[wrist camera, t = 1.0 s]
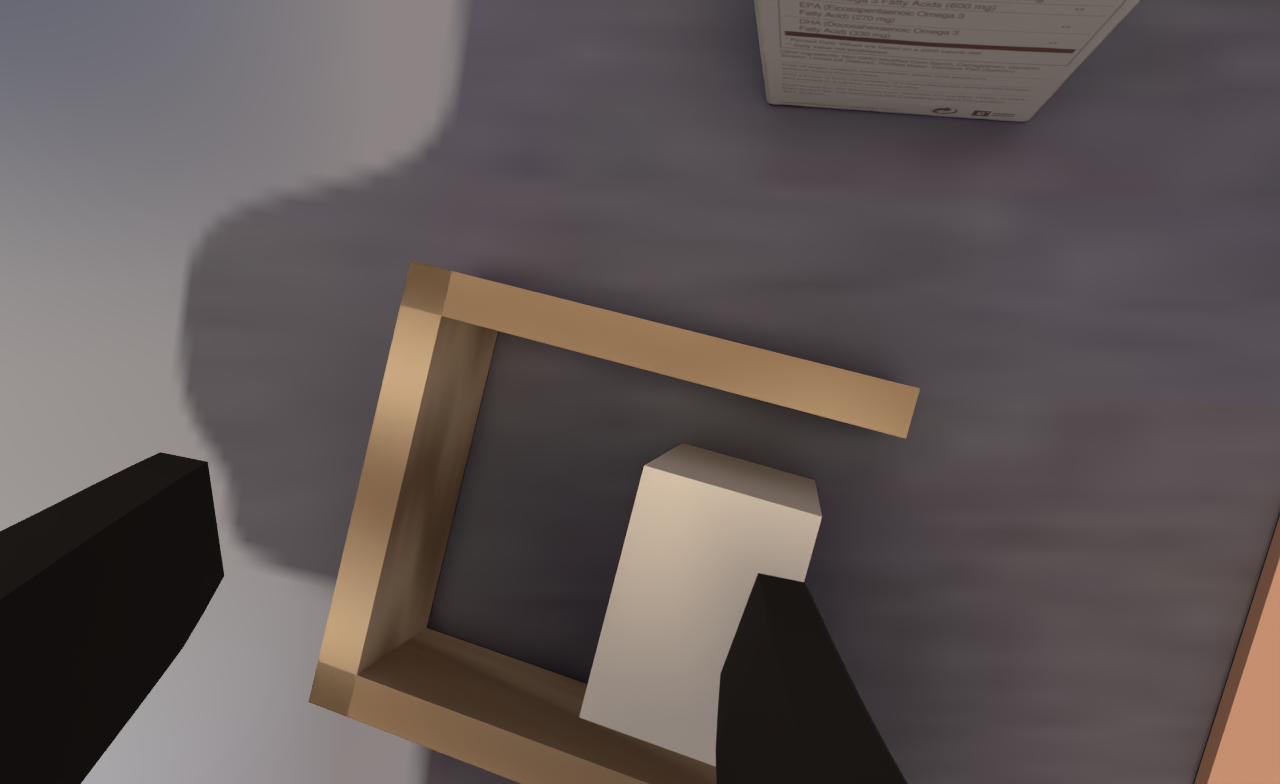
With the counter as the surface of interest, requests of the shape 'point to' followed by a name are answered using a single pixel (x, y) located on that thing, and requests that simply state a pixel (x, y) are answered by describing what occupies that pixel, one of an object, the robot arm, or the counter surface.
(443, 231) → the counter surface
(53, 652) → the robot arm
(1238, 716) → the tile
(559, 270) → the counter surface
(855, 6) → the supplement box
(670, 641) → the block
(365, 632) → the shelf bay
